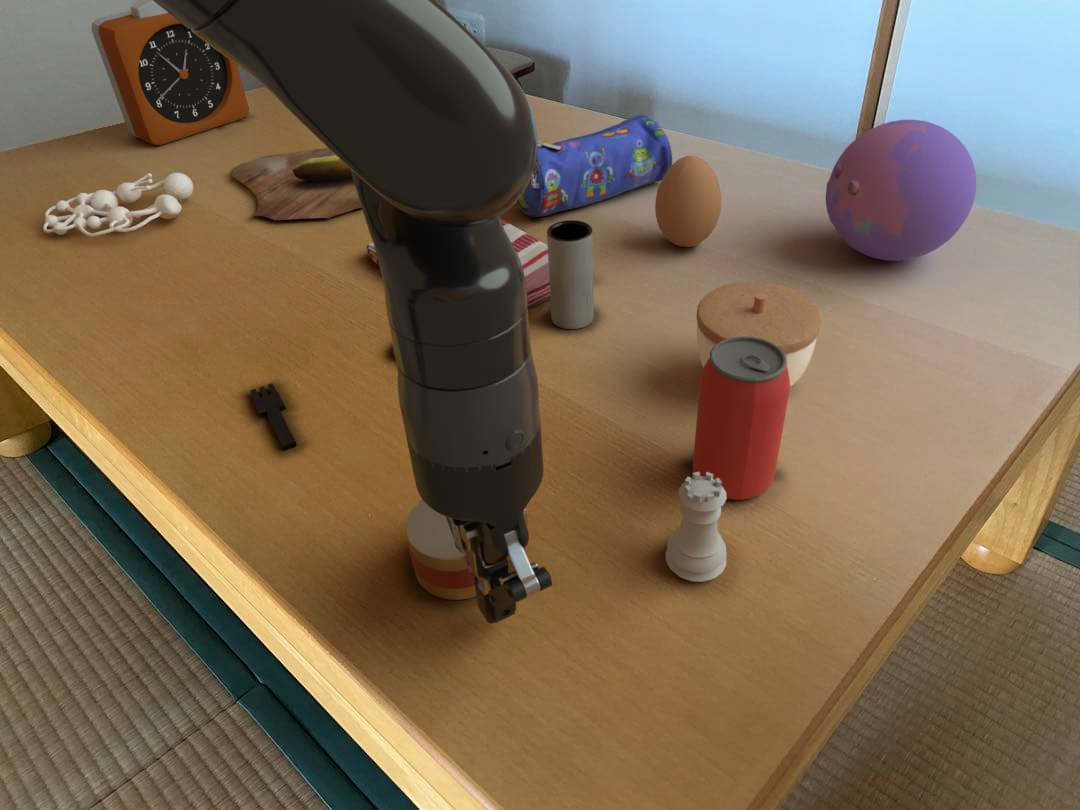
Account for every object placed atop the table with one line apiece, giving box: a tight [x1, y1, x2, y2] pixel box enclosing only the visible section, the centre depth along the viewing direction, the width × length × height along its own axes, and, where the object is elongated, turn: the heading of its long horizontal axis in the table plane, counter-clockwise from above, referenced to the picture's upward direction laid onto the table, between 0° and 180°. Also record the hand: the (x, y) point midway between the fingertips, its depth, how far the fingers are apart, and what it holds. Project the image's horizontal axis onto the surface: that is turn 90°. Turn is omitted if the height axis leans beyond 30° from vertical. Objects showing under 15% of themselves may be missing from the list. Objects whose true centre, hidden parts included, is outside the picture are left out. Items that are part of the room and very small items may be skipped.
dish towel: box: [365, 218, 550, 309], centre depth 96 cm, size 17×23×3 cm
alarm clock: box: [91, 0, 250, 147], centre depth 134 cm, size 18×9×21 cm, turn 136°
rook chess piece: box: [665, 472, 728, 583], centre depth 58 cm, size 4×4×8 cm
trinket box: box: [696, 281, 822, 388], centre depth 74 cm, size 11×11×9 cm
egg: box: [654, 155, 722, 248], centre depth 95 cm, size 8×8×11 cm
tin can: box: [405, 499, 477, 601], centre depth 60 cm, size 7×7×4 cm
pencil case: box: [515, 114, 673, 218], centre depth 107 cm, size 22×9×10 cm, turn 119°
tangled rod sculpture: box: [42, 172, 194, 238], centre depth 111 cm, size 19×14×4 cm
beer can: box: [692, 336, 791, 501], centre depth 64 cm, size 7×7×12 cm
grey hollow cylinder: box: [546, 219, 595, 330], centre depth 84 cm, size 4×4×10 cm
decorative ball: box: [825, 119, 977, 262], centre depth 90 cm, size 15×15×15 cm
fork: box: [249, 382, 298, 451], centre depth 76 cm, size 10×2×1 cm, turn 29°
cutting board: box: [231, 147, 362, 221], centre depth 120 cm, size 35×27×4 cm
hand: (497, 611), depth 56 cm, fingers closed
